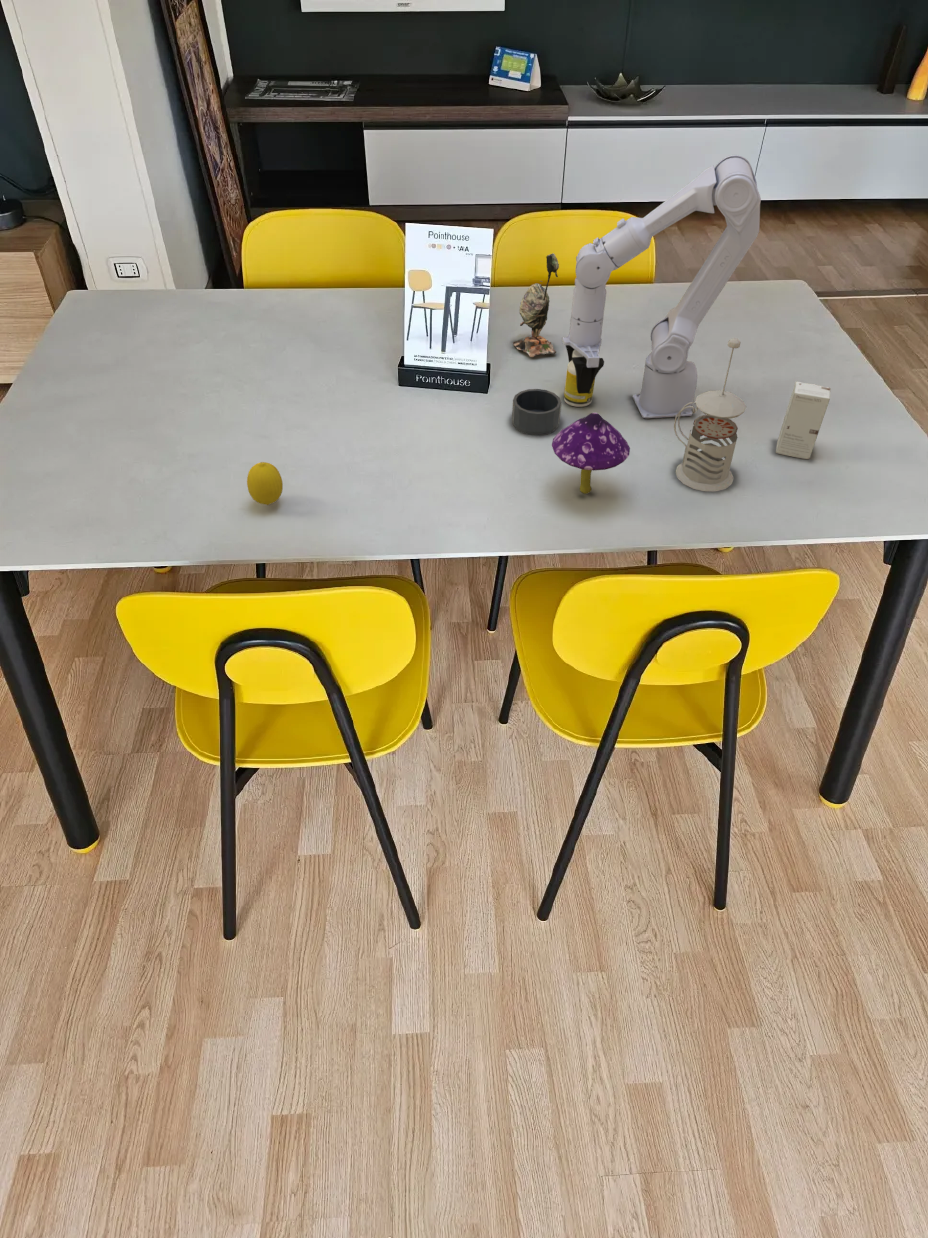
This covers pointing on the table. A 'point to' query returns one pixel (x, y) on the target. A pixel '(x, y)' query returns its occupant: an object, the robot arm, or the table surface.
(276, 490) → the lemon
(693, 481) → the french press
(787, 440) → the cosmetic box
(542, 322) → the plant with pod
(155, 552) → the table surface
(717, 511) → the table surface
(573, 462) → the decorative mushroom
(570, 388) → the supplement bottle
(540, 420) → the metal bowl
